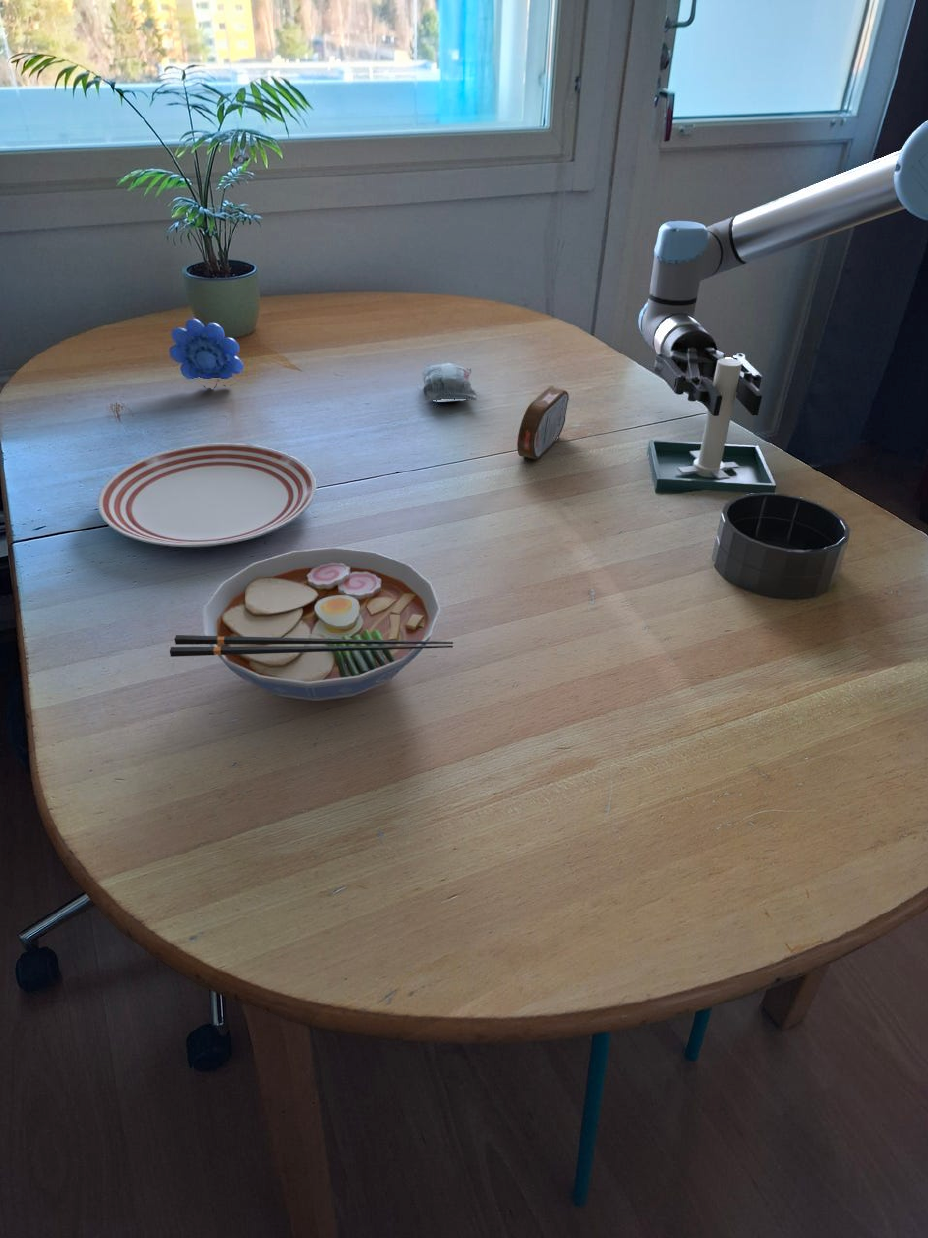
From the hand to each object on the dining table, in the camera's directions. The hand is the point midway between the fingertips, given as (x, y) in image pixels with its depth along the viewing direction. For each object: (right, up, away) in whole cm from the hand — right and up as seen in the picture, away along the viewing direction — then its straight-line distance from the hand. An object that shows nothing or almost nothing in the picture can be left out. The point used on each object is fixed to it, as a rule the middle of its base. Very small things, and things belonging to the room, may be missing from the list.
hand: (737, 405), depth 115 cm
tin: (-24, -2, +18) cm, 30 cm away
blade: (-1, -7, +11) cm, 13 cm away
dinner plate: (-69, -14, 0) cm, 70 cm away
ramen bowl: (-50, -33, -26) cm, 65 cm away
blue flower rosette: (-79, +11, +34) cm, 87 cm away
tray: (-1, -7, +12) cm, 14 cm away
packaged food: (-38, +10, +34) cm, 52 cm away
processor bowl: (+1, -22, -10) cm, 25 cm away
